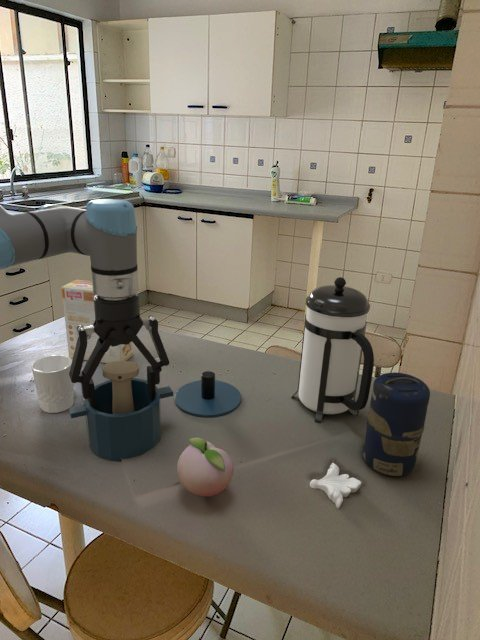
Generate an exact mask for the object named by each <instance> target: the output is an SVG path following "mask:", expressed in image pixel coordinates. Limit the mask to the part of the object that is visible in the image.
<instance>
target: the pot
mask: <svg viewBox="0 0 480 640" xmlns="http://www.w3.org/2000/svg"><path fill="white" fill-rule="evenodd" d="M131 387H132V396H133V404H134V412H131V413H127V414H113V388H112V380H110V379H108V380H106V381H102V382H101V383H99V384H96V385H94V388H95V399H96V409H94V408H93V407H91V405H90V403H89V398H88V399H84V398H83V403H82V404H77V405H72V406H71V407H69V409H68V411H69V416H70V419H75V418H81V417H85V426H86V437H87V442H88V447H89V450H90V451H91V452H92V453H93V454H94V455H95V456H97V457H98V458H101V459H103V460H106V461H112V462H122V459H123V460H125V459H131V458H134V457H138V456H142V455H144V454H146V453H147V452H149V451H151V450H152V449H154V448H155V446H156V445H157V444H158V443H159V442H160V440H161V437H162V409H161V408H162V407H161V399H165V398H166V399H167V398H170V397H173V396H174V391H173V389H172V388H171V386H170V385H167V386H162V387H159V388H158V387H157V384H156V385H155V399H154V400H153V401H152V402H151V400H150V399H149V397H148V388H147V379H142V378H137V377H134V378H132V379H131Z"/></svg>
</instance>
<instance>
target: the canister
mask: <svg viewBox="0 0 480 640" xmlns="http://www.w3.org/2000/svg"><path fill="white" fill-rule="evenodd" d="M374 379H375V380H374V381H373V385H372V391H371V396H370V404H369V410H368V416H367V421H366V427H365V436H364V444H363V447H362V448H363V449H362V456H363V459H364V461H365V463H366V464H367V465H368V466H369V467H370V468H371V469H373V470H374V471H376V472H378V473H380V474H382V475H386V476H390V477H402V476H407V475H408V474H410V473H411V472H412V471H413V470H414V469H415V467H416V464H417V459H418V455H419V451H420V445H421V442H422V436H423V433H424V431H425V424H426V418H427V413H428V408H429V403H430V398H431V391H430V387H429V386H428V384H427V383H425V382H424V381H423V380H421V379H420V378H419V377H416V376H414V375H411V374H408V373H405V372H385V373H383V374H380V375H378V376H377V377H376V378H374Z"/></svg>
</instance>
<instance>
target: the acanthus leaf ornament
mask: <svg viewBox="0 0 480 640" xmlns="http://www.w3.org/2000/svg"><path fill="white" fill-rule="evenodd" d="M361 485H362V481H361V480H359V479H357V478H355V477H350V475H349V474H348V473H344V474H343V473H342V474H340V468H339V466H338V465H337V464H336V463H334V462H332V463H331V464H330V466H329V468H328V469H327V472H326V475H324V476H323V477H322V478H320V479H315V478H313V479H311V480H310V482H309V487H310V488H311V489H315V490H321V491H323V492H324V493H325V494H326V495H327V498H328V500H330V501H332V503H333V504H335V507H336V509H338V510H339V509H340V508H341V506H342V505H343V503H344V502H343V501H344V498H347V497H348V496H349V495H350V494H352V493H356V492H357V491H358V490H359V489H360V487H361Z"/></svg>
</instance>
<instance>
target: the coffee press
mask: <svg viewBox="0 0 480 640" xmlns="http://www.w3.org/2000/svg"><path fill="white" fill-rule="evenodd" d="M333 283H334V284H326V285H321V286H318V287H316V288H313V290H311V292H310V293H309V295H308V296H306V298H305V306H306V313H305V315H304V321H303V323H304V324H303V325H304V326H303V334H302V343H301V353H300V364H299V371H298V372H299V374H298V383H297V389H296V391H295V392H294V393H293V394H292V395H291V400H293V398H294V397H295V396H296V395H297V394H298V399H297V401H300V403H302V405H304V406H305V408H307V409H309V410H311V411H313V412H315V417H314V423H318V424H322V420H323V418H324V415H337V414H338V415H339V414H342V413H345V412H346V411H348V412H349V413H350V414H351V415H352V416H355V417H356V416H358V415H359V413H360V411H361V410H363V409H365V407H366V406H367V404H368V401H369V398H370V391H371V386H372V380H373V374H374V367H375V366H374V365H375V356H374V350H373V347H372V344H371V342H370V340H369V339H368V338H367V337H366V330H367V324H368V323H367V316H368V313H370V310H371V304H370V303H369V301H368V298H367V296H366V295H365V294H364V293H363V292H362V291H361V290H358V289H357V288H354V287H350V286H346V285H347V282H346V279H345V278H344V277H342V276H340V277H339V276H338V277H337V278H335V280H334V282H333ZM362 356H363V357H362ZM362 358H363V365H362V372H361V378H360V384H359V385H360V386H359V391H358V397H357V400H356V396H357V389H358V382H359V377H360V370H361V364H362Z"/></svg>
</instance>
